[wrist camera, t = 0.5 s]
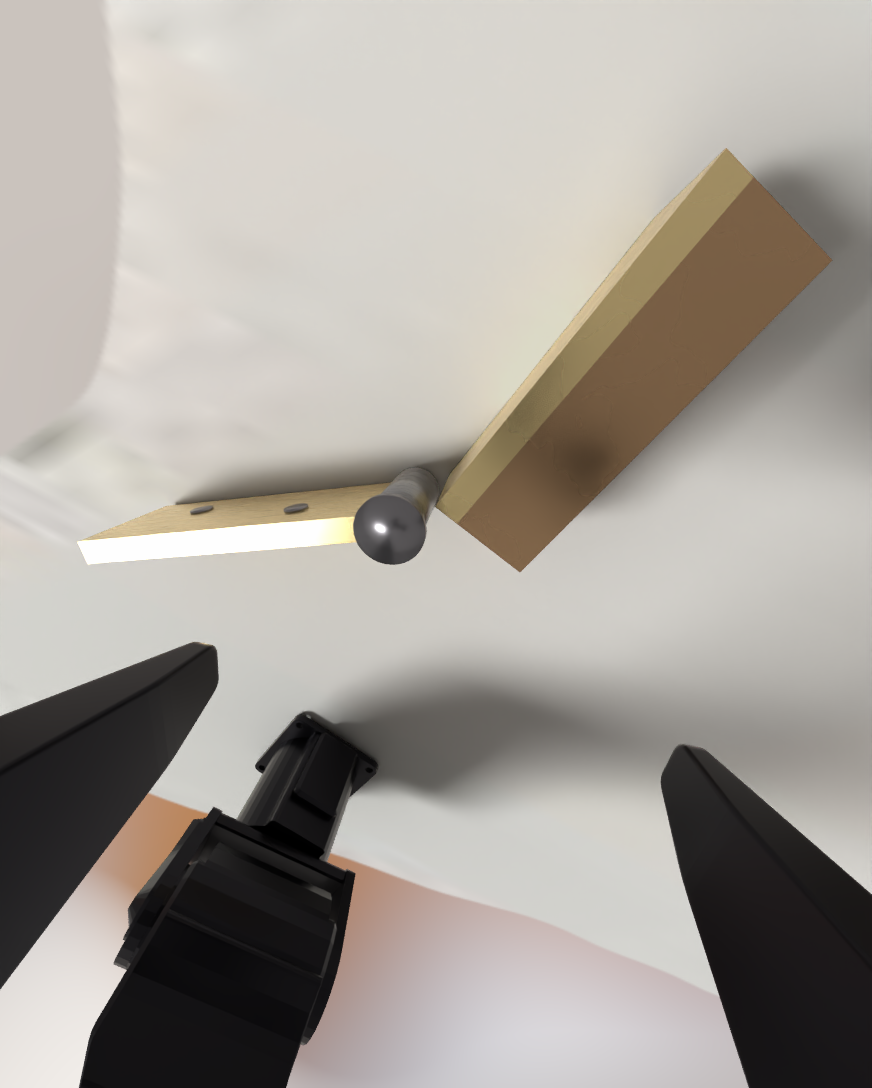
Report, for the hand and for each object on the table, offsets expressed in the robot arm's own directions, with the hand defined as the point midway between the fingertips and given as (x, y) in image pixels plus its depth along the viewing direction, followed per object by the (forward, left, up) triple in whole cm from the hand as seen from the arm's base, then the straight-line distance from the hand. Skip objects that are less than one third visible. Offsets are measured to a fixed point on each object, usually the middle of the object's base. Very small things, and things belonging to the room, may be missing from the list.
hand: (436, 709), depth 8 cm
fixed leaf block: (+7, 0, -13) cm, 14 cm away
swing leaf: (-5, +7, -13) cm, 15 cm away
